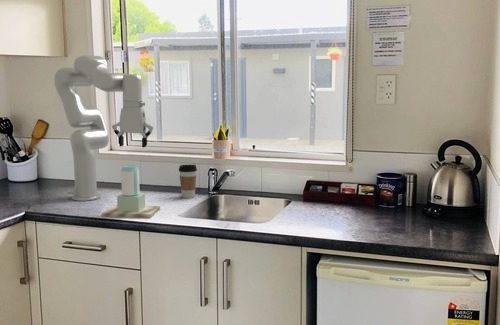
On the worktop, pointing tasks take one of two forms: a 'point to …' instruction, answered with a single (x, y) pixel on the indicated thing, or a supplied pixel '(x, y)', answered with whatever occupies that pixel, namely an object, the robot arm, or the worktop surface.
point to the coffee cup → (188, 180)
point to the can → (130, 180)
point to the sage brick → (131, 203)
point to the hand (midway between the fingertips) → (132, 146)
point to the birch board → (144, 213)
